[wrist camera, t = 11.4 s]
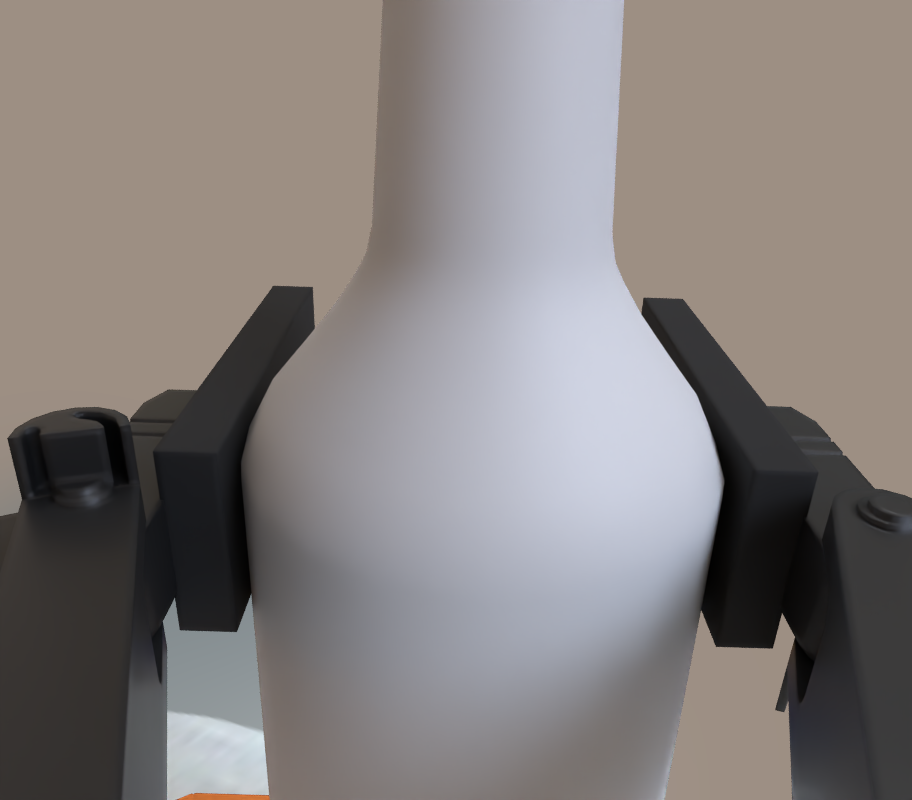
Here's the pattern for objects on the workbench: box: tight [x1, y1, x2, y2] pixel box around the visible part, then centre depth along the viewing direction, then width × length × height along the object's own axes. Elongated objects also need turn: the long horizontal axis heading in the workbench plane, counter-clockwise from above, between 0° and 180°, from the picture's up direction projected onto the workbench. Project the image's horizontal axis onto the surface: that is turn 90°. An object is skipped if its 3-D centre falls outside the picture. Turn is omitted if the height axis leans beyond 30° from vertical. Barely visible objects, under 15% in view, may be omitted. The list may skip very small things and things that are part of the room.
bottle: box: [241, 0, 724, 800], centre depth 12 cm, size 7×7×28 cm
